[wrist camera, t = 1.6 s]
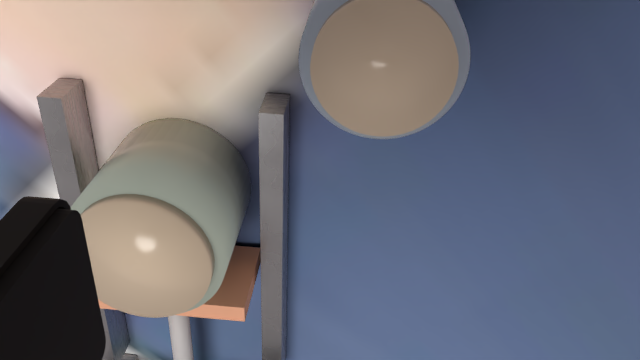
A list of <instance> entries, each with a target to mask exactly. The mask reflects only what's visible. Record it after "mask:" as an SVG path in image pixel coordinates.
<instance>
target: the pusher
mask: <svg viewBox="0 0 640 360" xmlns="http://www.w3.org/2000/svg"><path fill="white" fill-rule="evenodd" d="M260 262H261V248H258V247H246V246H234V249H233V252H232V255H231V258H230V261H229V264H228V267H227V270H226V273H225V276H224V279H223V282H222V284H221V286H220V288H219V289H218V291H217V292H216V293H215V295H214V296H213V297H212V298H211V299H209V300H208V301H207V302H206V303H204V304H203V305H201V306H199V307H197V308H195V309H193V310H190V311H187V312H184V313H180V314H177V315H173V316H168V321H169V329H170V336H171V344H172V352H173V360H194V358H193V348H192V338H191V329H190V319H189V316H190V317H201V318H212V319H223V320H234V321H245V319H246V315H247V311H248V307H249V303H250V300H251V296H252V292H253V288H254V284H255V281H256V277H257V273H258V269H259V265H260ZM98 301H99V306H100V308H101V309H112V310H117V309H115V308H112V307H110V306H109V305H107V304H105V303H103V302H102V301H100V300H99V299H98Z"/></svg>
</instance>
